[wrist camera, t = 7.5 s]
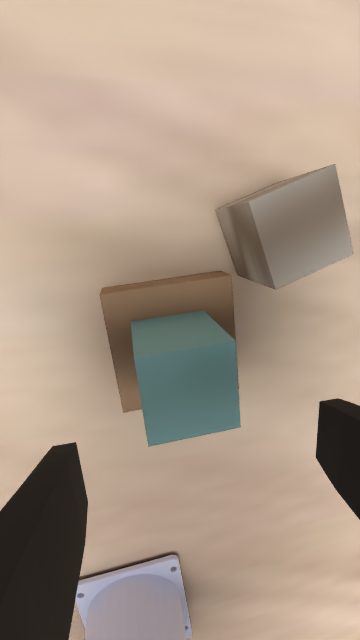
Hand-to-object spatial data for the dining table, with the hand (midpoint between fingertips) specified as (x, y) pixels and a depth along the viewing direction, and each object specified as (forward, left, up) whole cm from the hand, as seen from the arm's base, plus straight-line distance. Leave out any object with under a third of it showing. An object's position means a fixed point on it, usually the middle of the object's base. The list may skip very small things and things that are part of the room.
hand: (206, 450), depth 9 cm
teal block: (0, 0, -8) cm, 9 cm away
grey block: (+5, -6, -10) cm, 13 cm away
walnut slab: (0, 0, -11) cm, 11 cm away
